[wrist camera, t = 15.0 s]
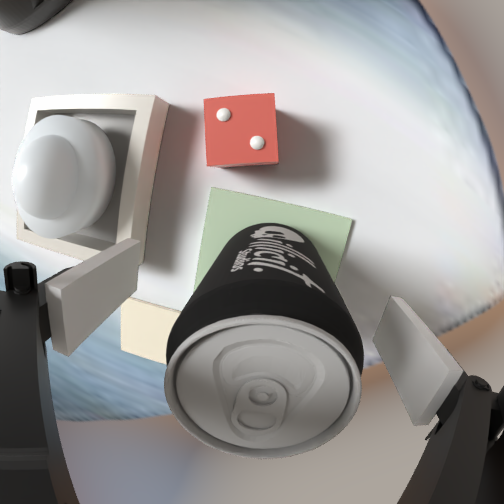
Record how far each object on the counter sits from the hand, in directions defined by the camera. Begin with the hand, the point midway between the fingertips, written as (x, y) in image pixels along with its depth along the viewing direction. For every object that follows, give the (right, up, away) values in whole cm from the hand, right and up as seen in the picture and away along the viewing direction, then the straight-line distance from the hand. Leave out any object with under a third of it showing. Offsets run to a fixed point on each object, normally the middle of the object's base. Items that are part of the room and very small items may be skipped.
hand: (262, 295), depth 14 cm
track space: (-8, -4, +7) cm, 12 cm away
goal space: (0, +1, +5) cm, 5 cm away
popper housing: (-12, +8, +4) cm, 15 cm away
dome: (-12, +7, +2) cm, 15 cm away
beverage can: (+1, +1, +5) cm, 5 cm away
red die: (-1, +9, +3) cm, 10 cm away
